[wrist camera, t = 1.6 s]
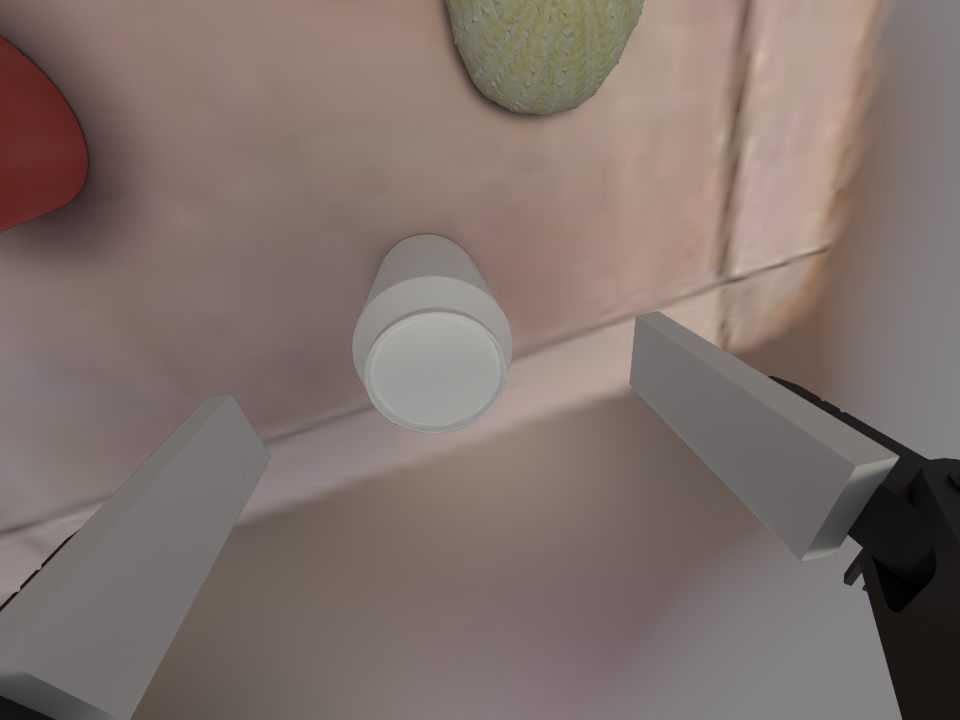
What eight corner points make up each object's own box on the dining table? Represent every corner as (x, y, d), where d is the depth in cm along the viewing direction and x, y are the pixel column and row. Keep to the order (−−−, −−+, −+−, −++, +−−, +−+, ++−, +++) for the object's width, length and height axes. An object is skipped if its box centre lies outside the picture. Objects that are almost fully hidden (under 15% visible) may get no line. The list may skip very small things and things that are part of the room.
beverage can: (473, 325, 24) (515, 441, 14) (383, 326, 23) (355, 453, 13) (478, 232, 21) (535, 292, 11) (374, 229, 20) (328, 292, 10)
